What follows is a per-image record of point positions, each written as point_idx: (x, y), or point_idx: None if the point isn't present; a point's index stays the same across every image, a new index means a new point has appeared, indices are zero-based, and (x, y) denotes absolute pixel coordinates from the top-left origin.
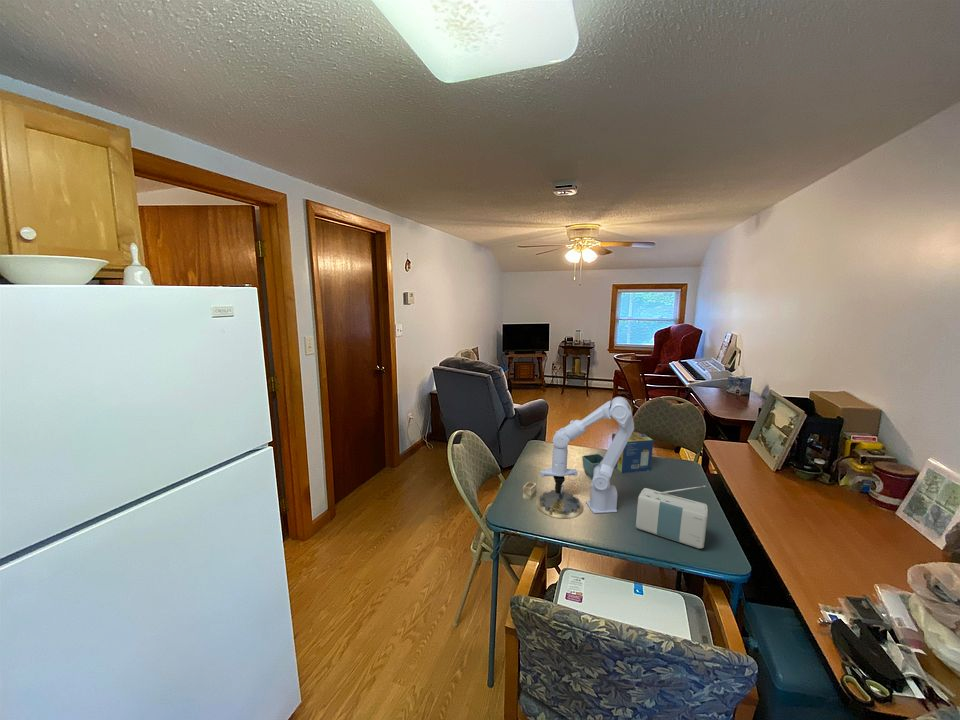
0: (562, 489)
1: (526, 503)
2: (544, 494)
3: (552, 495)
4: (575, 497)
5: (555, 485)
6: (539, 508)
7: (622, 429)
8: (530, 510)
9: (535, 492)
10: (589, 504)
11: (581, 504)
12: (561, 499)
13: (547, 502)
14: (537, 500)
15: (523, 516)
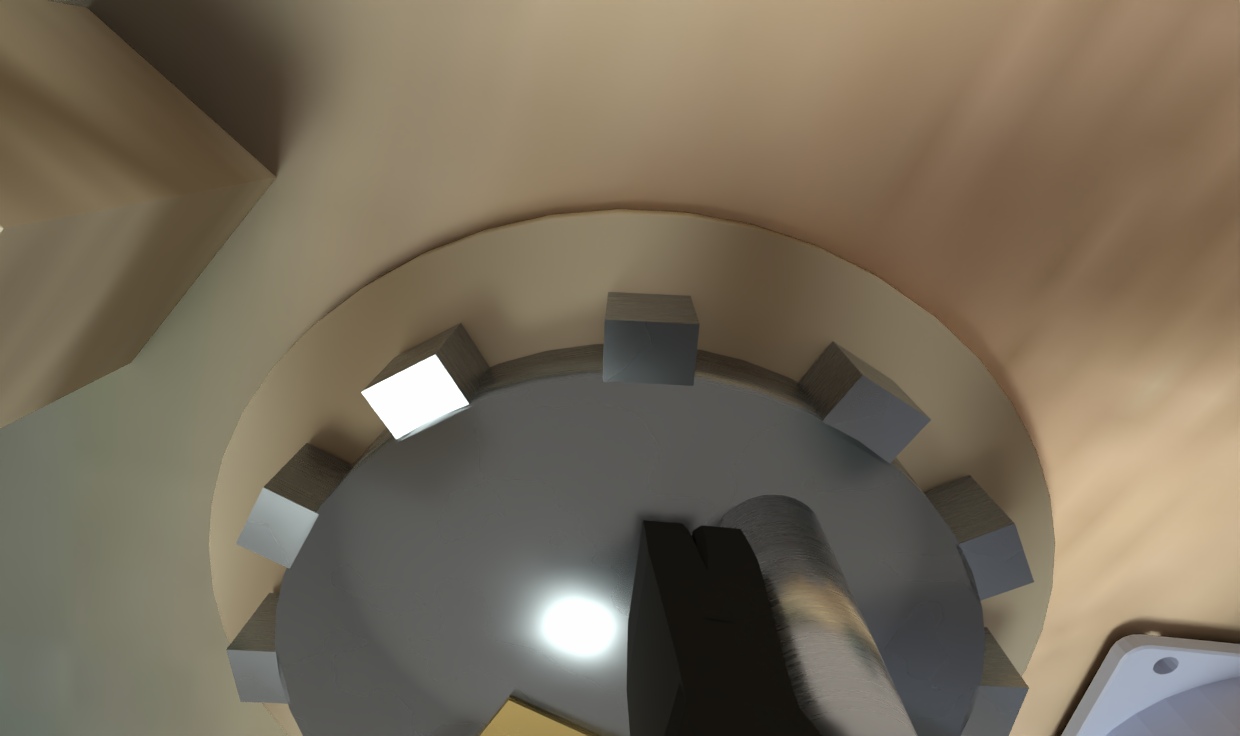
0: None
1: (43, 445)
2: (373, 457)
3: (551, 528)
4: (1049, 517)
5: (662, 628)
6: None
7: None
8: (113, 629)
9: (203, 217)
10: (1110, 726)
11: None
12: None
13: (364, 707)
14: (245, 457)
15: (4, 720)
